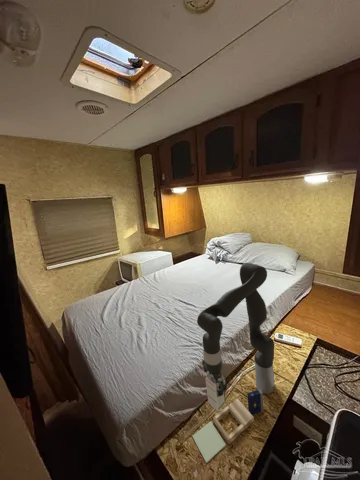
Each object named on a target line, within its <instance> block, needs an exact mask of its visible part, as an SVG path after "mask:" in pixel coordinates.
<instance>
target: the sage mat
mask: <svg viewBox="0 0 360 480" xmlns="http://www.w3.org/2000/svg"><path fill="white" fill-rule="evenodd" d="M222 437H223V436H221V433H219V430H217V428H216V427H215V424H213V421H209V422H208V423H207V424H205V425H204V426H203V427H202V428H200V429H199V430H198V431H197V432H195V433H194V434H193V435H192V439H193V441H194V442H195V444H196V446H197V448H198V451H199V452H200V453H201V455H202V458H203V460H204V462H205V463H206V464H207V463H209V462H210V461H211V459H213V458H214V457H215V456H216V455H217V454H218V453H219V452H220V451H221V450H222V449H224V448H225V447H226V446H227V444H226V441H225V439H223V438H222Z"/></svg>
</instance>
